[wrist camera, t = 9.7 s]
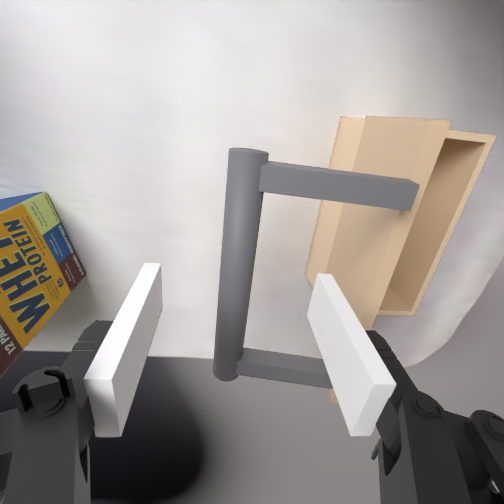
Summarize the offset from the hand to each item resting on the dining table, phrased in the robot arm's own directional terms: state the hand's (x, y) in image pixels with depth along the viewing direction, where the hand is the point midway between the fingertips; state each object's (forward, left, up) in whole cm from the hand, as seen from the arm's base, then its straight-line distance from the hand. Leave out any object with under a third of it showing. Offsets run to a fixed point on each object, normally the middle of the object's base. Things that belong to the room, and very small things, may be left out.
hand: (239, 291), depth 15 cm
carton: (0, +15, -18) cm, 24 cm away
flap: (0, +9, -5) cm, 10 cm away
